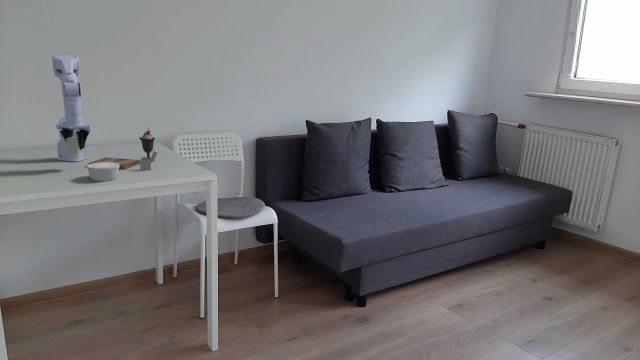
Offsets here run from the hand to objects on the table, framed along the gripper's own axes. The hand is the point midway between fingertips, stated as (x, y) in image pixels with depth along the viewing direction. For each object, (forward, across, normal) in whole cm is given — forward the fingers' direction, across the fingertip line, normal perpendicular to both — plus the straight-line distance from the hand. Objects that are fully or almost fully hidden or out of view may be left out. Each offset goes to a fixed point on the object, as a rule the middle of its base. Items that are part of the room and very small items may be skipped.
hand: (76, 148), depth 199 cm
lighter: (+9, +26, +8) cm, 29 cm away
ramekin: (+9, +17, -10) cm, 22 cm away
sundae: (+9, +18, +23) cm, 31 cm away
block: (+2, 0, 0) cm, 2 cm away
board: (+9, +9, +11) cm, 17 cm away
